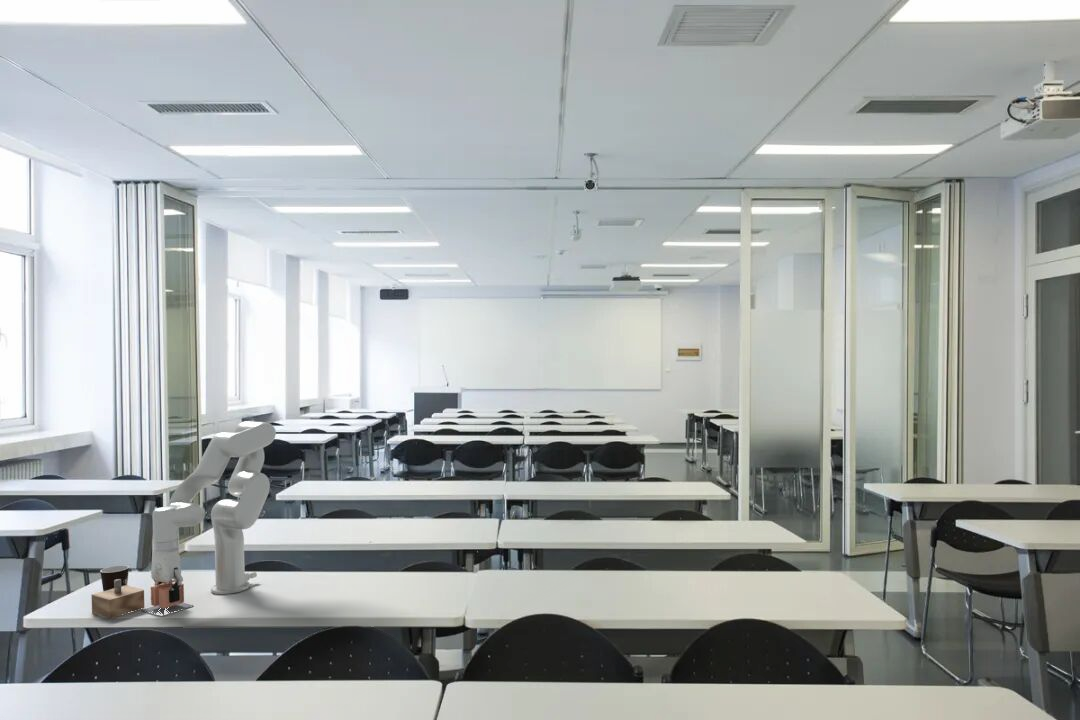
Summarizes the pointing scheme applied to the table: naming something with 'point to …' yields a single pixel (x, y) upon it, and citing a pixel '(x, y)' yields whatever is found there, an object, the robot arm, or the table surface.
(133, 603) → the stand
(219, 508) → the robot arm
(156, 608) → the mat
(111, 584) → the coffee mug
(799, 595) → the table surface
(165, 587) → the c link
